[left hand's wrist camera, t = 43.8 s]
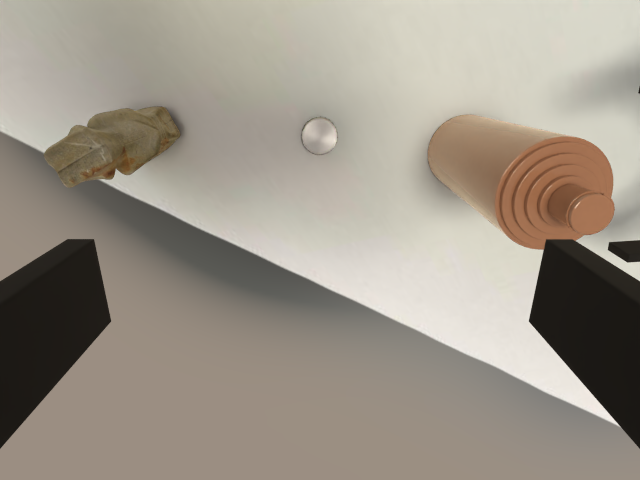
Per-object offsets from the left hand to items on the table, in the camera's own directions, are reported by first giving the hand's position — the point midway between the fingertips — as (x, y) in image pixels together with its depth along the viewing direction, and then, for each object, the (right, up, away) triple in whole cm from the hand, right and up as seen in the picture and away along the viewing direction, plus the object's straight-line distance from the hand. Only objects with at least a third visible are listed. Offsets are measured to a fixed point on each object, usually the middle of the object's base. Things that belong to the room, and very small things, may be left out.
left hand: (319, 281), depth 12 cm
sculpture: (-19, +13, +34) cm, 41 cm away
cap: (0, +12, +33) cm, 35 cm away
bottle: (+16, +11, +35) cm, 40 cm away
